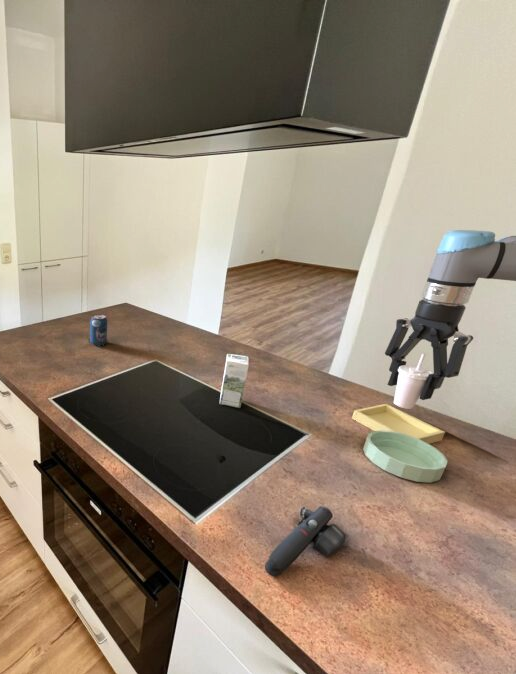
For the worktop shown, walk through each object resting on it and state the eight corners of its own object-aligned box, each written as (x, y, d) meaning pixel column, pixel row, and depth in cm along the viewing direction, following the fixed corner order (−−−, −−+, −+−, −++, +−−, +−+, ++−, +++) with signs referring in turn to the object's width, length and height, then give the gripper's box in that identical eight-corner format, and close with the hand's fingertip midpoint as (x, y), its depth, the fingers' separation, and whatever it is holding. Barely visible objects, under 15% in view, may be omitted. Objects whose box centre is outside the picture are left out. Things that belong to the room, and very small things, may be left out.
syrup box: (240, 399, 108) (248, 355, 103) (240, 409, 103) (249, 363, 98) (220, 395, 110) (227, 352, 105) (219, 405, 105) (226, 360, 100)
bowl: (455, 476, 77) (463, 461, 76) (411, 490, 74) (418, 474, 73) (389, 439, 89) (394, 426, 88) (349, 450, 86) (353, 436, 84)
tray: (441, 440, 89) (445, 431, 88) (407, 449, 86) (411, 440, 85) (382, 411, 101) (385, 403, 100) (351, 418, 98) (354, 410, 97)
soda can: (98, 348, 146) (99, 320, 142) (86, 343, 151) (86, 316, 147) (110, 343, 150) (110, 316, 146) (97, 339, 155) (98, 312, 151)
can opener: (308, 516, 68) (315, 493, 66) (349, 545, 63) (358, 521, 61) (246, 558, 61) (252, 534, 59) (287, 595, 55) (295, 570, 53)
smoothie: (426, 408, 89) (447, 357, 84) (410, 414, 87) (431, 361, 82) (396, 396, 95) (414, 347, 89) (380, 401, 92) (398, 351, 87)
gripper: (384, 293, 89) (357, 376, 97) (488, 316, 71) (445, 414, 80) (406, 290, 90) (378, 372, 99) (513, 312, 73) (468, 409, 81)
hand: (408, 391), depth 89 cm, fingers closed on smoothie, 6 cm apart
